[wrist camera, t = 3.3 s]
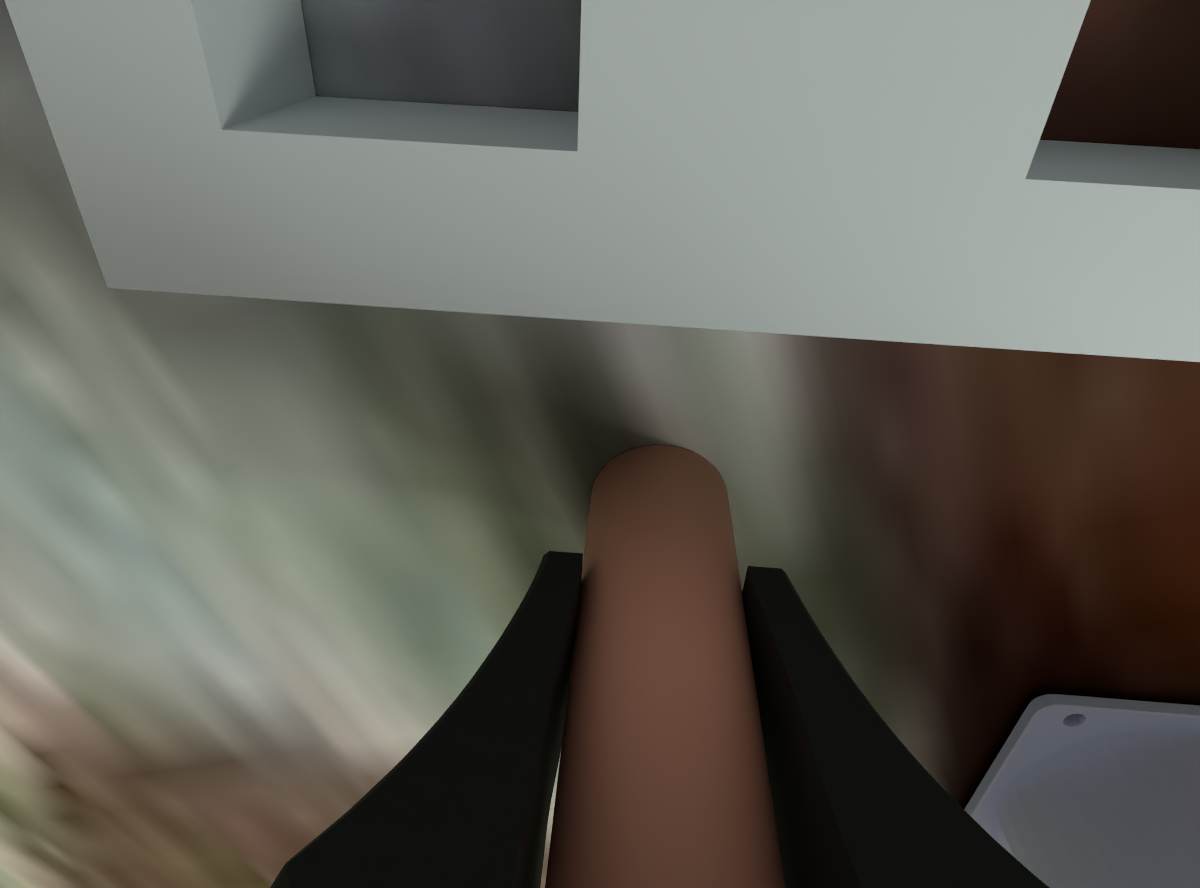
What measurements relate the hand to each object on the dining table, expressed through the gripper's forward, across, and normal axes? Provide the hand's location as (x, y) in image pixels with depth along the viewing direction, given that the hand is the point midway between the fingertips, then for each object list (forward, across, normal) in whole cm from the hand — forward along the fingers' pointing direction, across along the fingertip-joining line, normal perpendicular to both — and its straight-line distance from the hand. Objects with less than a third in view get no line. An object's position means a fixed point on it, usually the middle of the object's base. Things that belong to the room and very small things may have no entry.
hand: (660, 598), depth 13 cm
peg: (+3, 0, 0) cm, 3 cm away
